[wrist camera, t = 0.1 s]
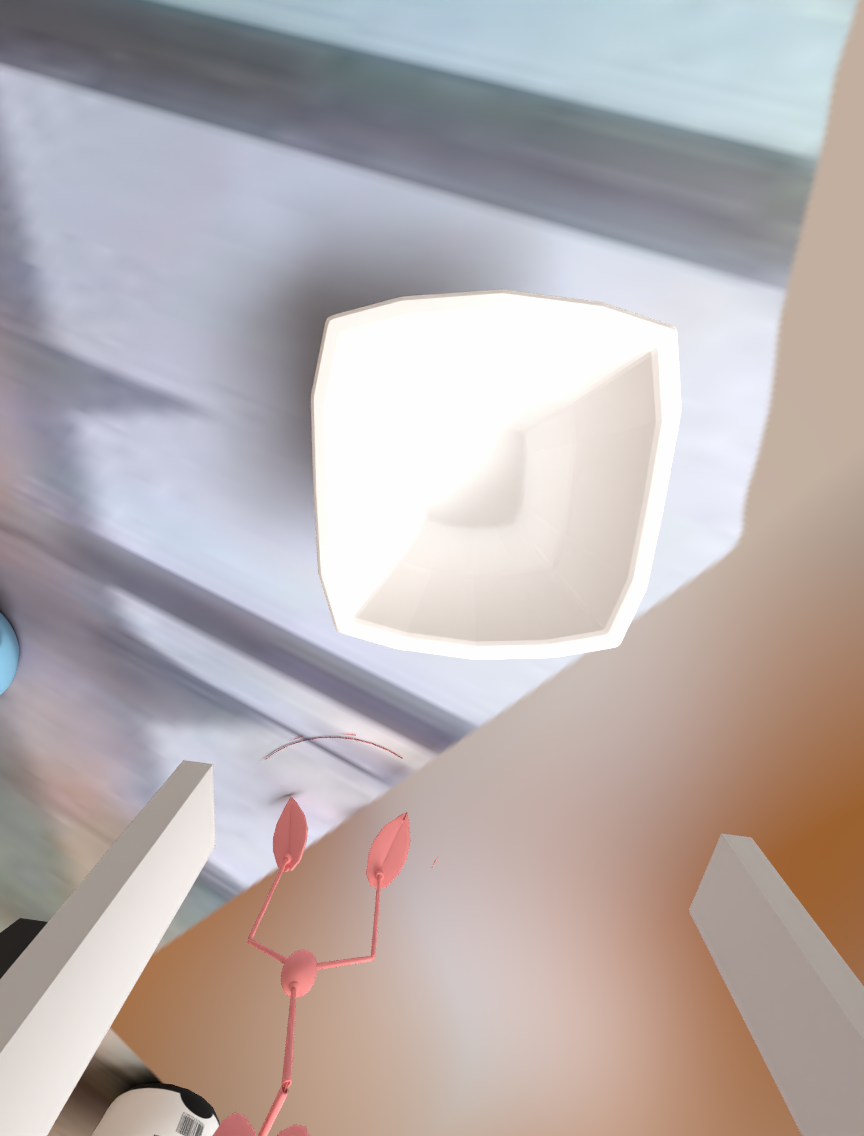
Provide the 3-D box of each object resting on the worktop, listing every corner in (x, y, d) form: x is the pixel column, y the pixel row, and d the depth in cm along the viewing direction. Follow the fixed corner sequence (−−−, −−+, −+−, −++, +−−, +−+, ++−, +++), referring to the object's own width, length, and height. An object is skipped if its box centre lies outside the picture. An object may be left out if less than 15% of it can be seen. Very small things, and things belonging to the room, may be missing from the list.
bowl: (603, 352, 33) (708, 292, 19) (570, 590, 38) (634, 670, 25) (362, 345, 33) (302, 281, 20) (364, 580, 39) (319, 653, 26)
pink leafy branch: (455, 868, 48) (465, 1831, 15) (231, 827, 48) (-283, 1706, 14) (484, 756, 44) (591, 1738, 10) (239, 710, 44) (-453, 1560, 10)
